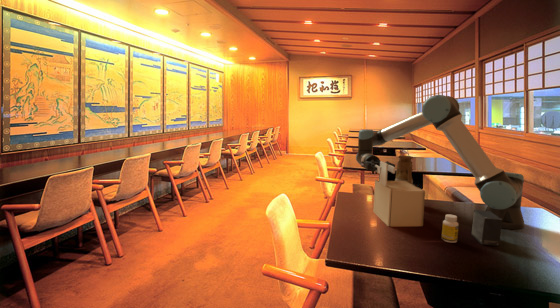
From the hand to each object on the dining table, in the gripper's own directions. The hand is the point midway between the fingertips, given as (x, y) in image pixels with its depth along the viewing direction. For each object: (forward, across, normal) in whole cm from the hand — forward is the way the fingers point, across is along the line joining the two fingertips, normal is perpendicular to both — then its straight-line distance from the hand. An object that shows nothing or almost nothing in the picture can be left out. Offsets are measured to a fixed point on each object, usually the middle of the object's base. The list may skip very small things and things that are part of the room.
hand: (387, 170), depth 138 cm
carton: (-5, -8, -24) cm, 26 cm away
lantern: (-33, -21, -24) cm, 46 cm away
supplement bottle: (+18, -18, -24) cm, 36 cm away
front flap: (-5, 0, -23) cm, 24 cm away
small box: (+19, -32, -24) cm, 45 cm away
